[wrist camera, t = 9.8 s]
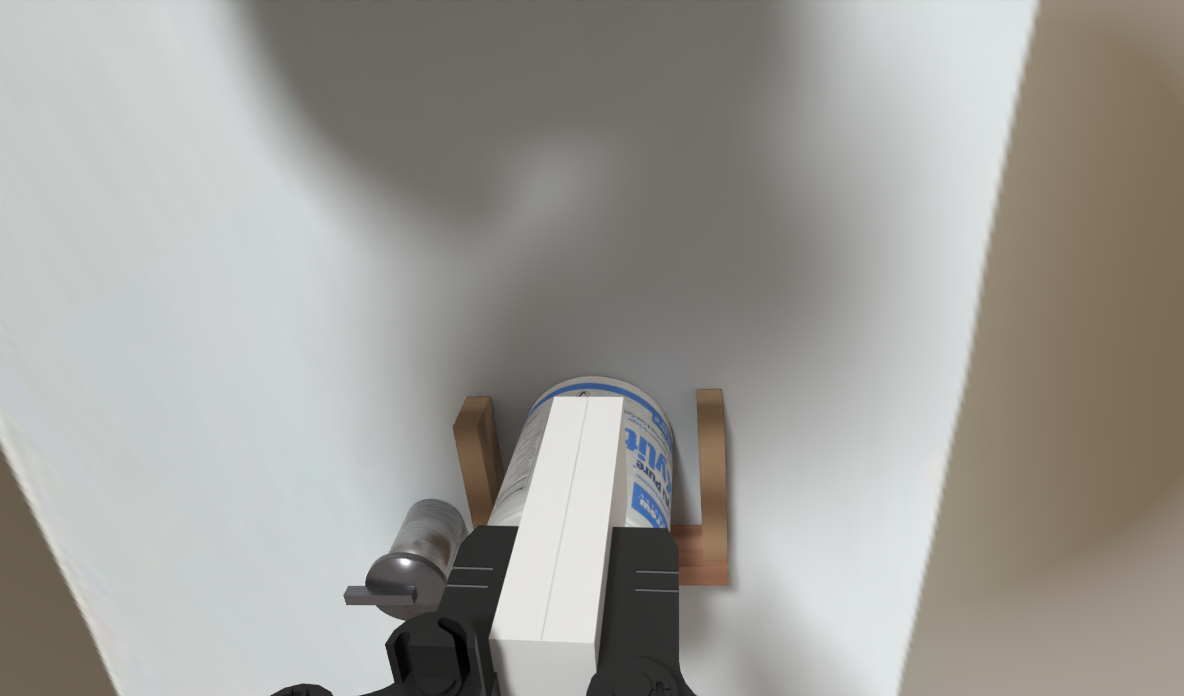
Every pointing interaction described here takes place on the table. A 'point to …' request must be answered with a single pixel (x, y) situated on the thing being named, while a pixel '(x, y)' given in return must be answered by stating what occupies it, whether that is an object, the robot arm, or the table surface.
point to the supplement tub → (643, 453)
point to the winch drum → (413, 563)
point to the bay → (696, 543)
